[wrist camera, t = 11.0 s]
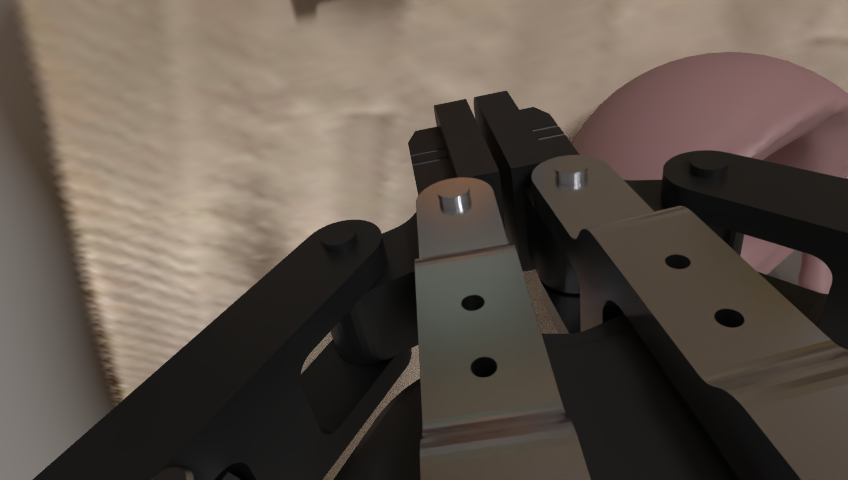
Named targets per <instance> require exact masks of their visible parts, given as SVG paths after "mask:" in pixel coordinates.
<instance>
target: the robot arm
mask: <svg viewBox="0 0 848 480" xmlns="http://www.w3.org/2000/svg"><path fill="white" fill-rule="evenodd" d="M474 111H475V118H474V115H473V113H472V111H471V109H470V107H469V105H468V102H467V100H466V99H463V100H459V101H454V102H449V103H444V104H439V105H434V112H435V118H436V124H437V127H433V128H429V129H424V130H419V131H415V133H414V134H413V136H412V138H411V139H410V141H409V142H408V145H409V150H410V155H411V160H412V165H413V170H414V175H415V180H416V186H417V191H418V198H417V200H416V211H417V212H416V213H415V214H414V215H413V216H412V217H411V218H410V219H409V220H408V221H407V222H405V223H404V224H402V225H400V226H399V227H397V228H395V229H392V230H390V231H388V232H385V233H383V234H381V231H380V229H379V228H378V227H377V226H376V225H375V224H373V223H371V222H368V221H364V220H345V221H340V222H336V223H333V224H330V225H327V226H325V227H323V228H321V229H319V230H318V231H316V232H315V233H313V234H312V235H311V236H309V237H308V238H307V239H306V240H305V241H304V242H303V243H301V244H300V245H299V246H298V247H297V248H296V249H295V250H294V251H292V252H291V253H290V254H289V255H288V256H287V257H286V258H284V259H283V260H282V261H281V262H280V263H279V264H278V265H276V266H275V267H274V268H273V269H272V270H271V271H270V272H268V273H267V274H266V275H265V276H264V277H263V278H262V279H261V280H259V281H258V282H257V283H256V284H255V285H254V286H253V287H251V288H250V289H249V290H248V291H247V292H246V293H245V294H243V295H242V296H241V297H240V298H239V299H238V300H237V301H235V302H234V303H233V304H232V305H231V306H230V307H229V308H227V309H226V310H225V311H224V312H223V313H222V314H221V315H220V316H218V317H217V318H216V319H215V320H214V321H213V322H212V323H210V324H209V325H208V326H207V327H206V328H205V329H204V330H202V331H201V332H200V333H199V334H198V335H197V336H196V337H194V338H193V339H192V340H191V341H190V342H189V343H188V344H187V345H185V346H184V347H183V348H182V349H181V350H180V351H179V352H177V353H176V354H175V355H174V356H173V357H172V358H171V359H169V360H168V361H167V362H166V363H165V364H164V365H163V366H161V367H160V368H159V369H158V370H157V371H156V372H155V373H153V374H152V375H151V376H150V377H149V378H148V379H147V380H146V381H144V382H143V383H142V384H141V385H140V386H139V387H138V388H136V389H135V390H134V391H133V392H132V393H131V394H130V395H128V396H127V397H126V398H125V399H124V400H123V401H122V402H120V403H119V404H118V405H117V406H116V407H115V408H114V409H113V410H111V411H110V412H109V413H108V414H107V415H106V416H105V417H103V418H102V419H101V420H100V421H99V422H98V423H97V424H95V425H94V427H92V428H91V429H90V430H89V431H88V432H86V433H85V434H84V435H83V436H82V437H81V438H80V439H78V440H77V441H76V442H75V443H74V444H73V445H72V446H70V448H68V449H67V450H66V451H65V452H64V453H63V454H61V455H60V456H59V457H58V458H57V459H56V460H55V461H54V462H52V463H51V464H50V465H49V466H48V467H46V468H45V469H44V470H43V471H42V472H41V473H40V474H39V475H37V476H36V477H35V478H34V479H33V480H323V478H324V477H325V476H326V474H327V473H328V471H329V470H330V469H331V467H332V466H333V465H334V463H335V462H336V461H337V459H338V458H339V457H340V455H341V454H342V453H343V451H344V450H345V449H346V447H347V446H348V445H349V443H350V442H351V441H352V439H353V438H354V437H355V435H356V434H357V433H358V431H359V430H360V429H361V427H362V426H363V425H364V423H365V422H366V421H367V419H368V418H369V417H370V415H371V414H372V413H373V411H374V410H375V409H376V407H377V406H378V405H379V403H380V402H381V401H382V399H383V398H384V397H385V395H386V394H387V393H388V391H389V390H390V389H391V387H392V386H393V385H394V383H395V382H396V381H397V379H398V378H399V377H400V375H401V374H402V373H403V371H404V370H405V369H406V367H407V365H408V364H409V362H410V359H411V354H412V352H411V348H412V347H414V346H417V345H419V362H420V379H418V380H417V381H415V382H414V383H413V384H411V385H410V386H408V387H407V388H405V389H404V390H403V391H402V392H401V393H400V394H398V395H397V396H396V397H395V398H394V399H393V400H392V401H391V402H390V403H389V404H388V405H387V406H386V407H385V408H384V410H383V411H382V412H381V413H380V414H379V416H378V417H377V418H376V420H375V421H374V423H373V424H372V426H371V427H370V428H369V430H368V431H367V433H366V434H365V435H364V437H363V438H362V440H361V441H360V443H359V444H358V445H357V447H356V448H355V450H354V451H353V453H352V454H351V455H350V457H349V458H348V460H347V461H346V463H345V464H344V465H343V467H342V468H341V470H340V471H339V473H338V474H337V475H336V477H335V478H334V480H848V179H845V178H841V177H836V176H832V175H827V174H823V173H818V172H813V171H809V170H804V169H800V168H795V167H791V166H786V165H782V164H777V163H773V162H768V161H763V160H759V159H754V158H750V157H745V156H741V155H736V154H732V153H727V152H721V151H713V150H700V151H691V152H686V153H682V154H679V155H676V156H674V157H672V158H671V159H669V160H668V161H667V162H666V163H665V165H664V167H663V175H662V180H623V179H622V178H621V177H620V176H619V175H618V174H617V173H616V172H615V171H614V170H613V169H612V168H611V167H610V166H609V165H608V164H607V163H606V162H604V161H602V160H600V159H598V158H595V157H591V156H585V155H580V154H579V153H578V152H577V150H576V149H575V148H574V146H573V145H572V144H571V142H570V141H569V140H568V138H567V137H566V135H564V133H563V131H562V130H561V129H560V127H559V126H557V123H556V122H555V121H554V119H553V118H552V117H551V115H550V114H548V113H546V112H544V111H541V110H539V109H537V108H535V107H531V108H526V109H521V110H519V109H518V107H517V106H516V104H515V103H514V101H513V100H512V98H511V96H510V95H509V93H508V92H507V91H502V92H497V93H493V94H488V95H483V96H478V97H474ZM475 119H476V120H475ZM744 234H745V235H748V236H751V237H755V238H758V239H761V240H765V241H768V242H771V243H774V244H778V245H781V246H784V247H787V248H791V249H794V250H795V251H794V252H793V253H792V254H791V255H789V256H788V257H787V258H786V259H785V260H783V261H782V262H781V264H779V265H778V266H776V267H775V268H774V269H773V270H772V271H771V272H770V273H769V274H767V275H766V274H763V273H760V272H757V271H756V270H755V269H754V268H753V267H751V266H750V265H749V264H748V263H747V262H746V261H745V260H744V259H743V258H742V257H741V256H740V255H741V250H742V244H743V239H744ZM507 239H508V241H507ZM508 242H509V244H508ZM802 252H804V253H807V254H810V255H813V256H815V257H817V258H819V259H820V260H821V261H823V262H824V263H825V264H826V265H827V266H828V268H829V269H830V271H831V274H832V284H831V287H830V290H829V293H828V294H823V293H819V292H816V291H813V290H810V289H807V288H804V287H801V286H799V283H798V276H799V273H800V269H801V262H802ZM533 269H536V271H537V273H538V279H539V293H540V298H541V300H542V302H543V304H544V306H545V308H546V310H547V311H548V313H549V315H550V317H551V319H552V321H553V323H554V325H555V327H556V328H557V330H558V332H559V334H541V331H540V327H539V324H538V321H537V317H536V314H535V311H534V307H533V304H532V301H531V297H530V294H529V291H528V287H527V284H526V281H525V277H524V274H523V271H528V270H533ZM330 331H331V334H332V337H333V340H332V341H331V342H330V343H329V344H328V345H327V347H326V348H325V349H324V350H323V351H322V352H321V353H320V354H319V355H318V356H317V358H316V359H315V360H314V361H313V362H312V363H311V364H310V365H309V366H308V368H307V369H306V370H305V371H304V372H303V373H302V374H301V370H302V366H303V364H304V362H305V360H306V358H307V356H308V355H309V354H310V353H311V351H312V350H313V349H314V348H315V347H316V346H317V345H318V344H319V343H320V342H321V341H322V340H323V338H324V337H325V336H326V335H327V334H328V333H329V332H330Z"/></svg>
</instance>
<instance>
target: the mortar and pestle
mask: <svg viewBox="0 0 848 480" xmlns="http://www.w3.org/2000/svg"><path fill="white" fill-rule="evenodd" d="M572 145H573V146H574V148H575V149H576V150H577V152H578V153H579V154H580V155H585V156H591V157H595V158H598V159H600V160H602V161H604V162H606V163H607V164H608V165H609V166H610V167H611V168H612V169H613V170H614V171H615V172H616V173H617V174H618V175H619V176H620V177H621V178H622V179H623V180H662V175H663V167H664V165H665V163H666V162H667V161H668V160H669V159H671V158H672V157H674V156H676V155H679V154H682V153H686V152H691V151H700V150H713V151H721V152H727V153H732V154H736V155H741V156H745V157H750V158H754V159H759V160H763V161H768V162H773V163H777V164H782V165H786V166H791V167H795V168H800V169H804V170H809V171H813V172H818V173H823V174H827V175H832V176H836V177H841V178H845V179H846V178H847V176H848V93H846V92H845V91H844V90H843V89H841V88H840V87H839V86H837V85H836V84H834V83H832V82H831V81H829V80H827V79H826V78H824V77H822V76H820V75H818V74H816V73H815V72H813V71H811V70H808V69H806V68H803V67H801V66H798V65H796V64H793V63H791V62H788V61H785V60H781V59H777V58H773V57H769V56H765V55H759V54H751V53H737V52H724V53H708V54H702V55H696V56H690V57H686V58H683V59H679V60H676V61H672V62H669V63H666V64H664V65H661V66H659V67H656V68H654V69H652V70H650V71H647V72H646V73H644V74H642V75H640V76H638V77H636V78H634V79H633V80H631V81H630V82H628V83H627V84H625V85H624V86H622V87H621V88H619V89H618V90H616V91H615V92H614V93H613V94H612V95H611V96H610V97H609V98H607V99H606V100H605V101H604V102H603V103H602V104H601V105H600V106H599V107H598V108H597V109H596V110H595V111H594V113H593V114H592V115H591V116H590V117H589V118H588V120H587V121H586V122H585V124H584V125H583V127H582V128H581V130H580V131H579V133H578V134H577V136H576V138H575V139H574V141H573V143H572ZM794 251H795V250H794V249H791V248H787V247H784V246H781V245H778V244H774V243H771V242H768V241H765V240H761V239H758V238H755V237H751V236H748V235H745V234H744V239H743V244H742V250H741V255H740V256H741V257H742V258H743V259H744V260H745V261H746V262H747V263H748V264H749V265H750V266H751V267H753V268H754V269H755V270H756V271H757V272H760V273H763V274H766V275H767V274H769V273H770V272H771V271H772V270H773V269H774V268H775V267H776V266H778V265H779V264H781V262H782V261H783V260H785V259H786V258H787V257H788V256H789V255H791V254H792V253H793V252H794ZM798 283H799V286H801V287H804V288H807V289H810V290H813V291H816V292H819V293H823V294H828V293H829V290H830V287H831V284H832V274H831V271H830V269H829V268H828V266H827V265H826V264H825V263H824V262H823V261H821V260H820V259H819V258H817V257H815V256H813V255H810V254H807V253H804V252H802V262H801V269H800V273H799V276H798Z"/></svg>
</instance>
